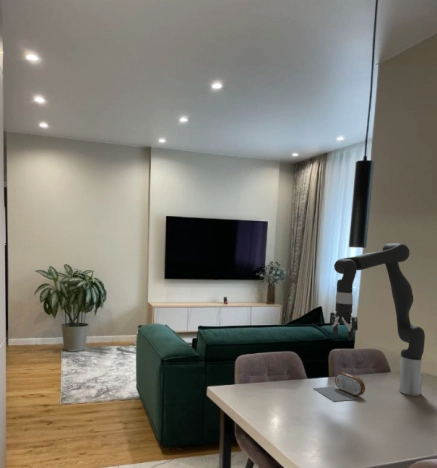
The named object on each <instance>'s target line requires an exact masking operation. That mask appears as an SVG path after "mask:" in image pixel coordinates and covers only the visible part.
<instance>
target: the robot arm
mask: <svg viewBox="0 0 437 468" xmlns="http://www.w3.org/2000/svg"><path fill="white" fill-rule="evenodd" d="M409 257H410V249H409V247H408V246H407V245H406V244H404V243H396V242H395V243H385V244H384V246H383V247H382V250H381V251H371V252H367V253H366V252H365V253H363V254H360V255H355V256H348V257H343V258H340V259H337V260H336V261H335V262H334V265H333V268H334V271H335V272H336V273H338V274H341V275H342V278H339V279H337V282H336V293H335V294H336V295H335V303H334V304H335V306H334V307H335V310H334V312H333V311H331V312H330V315H329V325H330V326H332V334H333V336H338V334H339V326H340V325H341V324H342V325H344V326H345V327H346V328H347V330H348V332H347V333H348V334H347V339H348V340H350V341H351V340H353V339H354V332H355V331H358V328H359V327H358V326H359V325H358V323H359V322H358V316H352V313H353V306H354V305H353V303H354V302H353V301H354V300H353V299H354V298H353V287H354V286H353V284H354V282H355V279H356V276H357V272H358V271H363V270H366V269H370V268H373V267H377V266H381V265H384V264H385V269H386V270H387V274H388V280H389V284H390V289H391V294H392V299H393V303H394V309H395V315H396V316H395V317H396V325H397V326H396V327H397V334H398V337H399V339H400V340H401V341H402V342H404V343H406V344H407V343H408V347H407V348H405V349H402V350H401V351H400V364H399V365H400V369H399V370H400V371H399V389H398V390H399V391H398V392H400V393H403V394H404V395H408V396H412V397H415V396H416V397H417V396H420V395H422V391H423V390H422V387H423V374H422V358H423V354H424V350H425V341H426V334H425V331H424V329H423V328H422V327H420V326H419V325H414V324H412V323H411V320H410V311H411V309H412V306H413V302H414V294H413V288H412V285H411V284H410V282H409V280H408V279H407V277H406V276H405V275H404V273H403V272H402V270H401V268H400V264H399V263H402V262H405V261H407V260H408V259H409Z"/></svg>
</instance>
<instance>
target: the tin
mask: <svg viewBox="0 0 437 468" xmlns="http://www.w3.org/2000/svg"><path fill="white" fill-rule="evenodd" d="M334 382H335V385H336V388H337V389H339V390H340V391H342V392H344V393H346V394H347V393H348V395H349V394H350V395H352V396H356V397H357V396H362V395H364V393H365V391H366V386H365V383H364V381H363V379H361V378H360V377H358V376H356V375H353V374H350V373H347V372H345V371H342V372H338V373H337V374H336V375H335V379H334Z"/></svg>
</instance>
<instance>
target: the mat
mask: <svg viewBox="0 0 437 468" xmlns="http://www.w3.org/2000/svg"><path fill="white" fill-rule="evenodd" d="M312 389H313V390H314V389H315V391H316V392H317V393H319V394H321V395H322V396H324V397H325V398H327V399H329V400H331V401H332V402H333V403H336V402H349V401H350V402H351V401H356V400H357V399H356V398H355V397H352V396H351V395H349V394H347V392H345V391H342V390H340V389H339V388H338V387H335V386H323V387H322V386H321V387H313V388H312Z"/></svg>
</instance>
